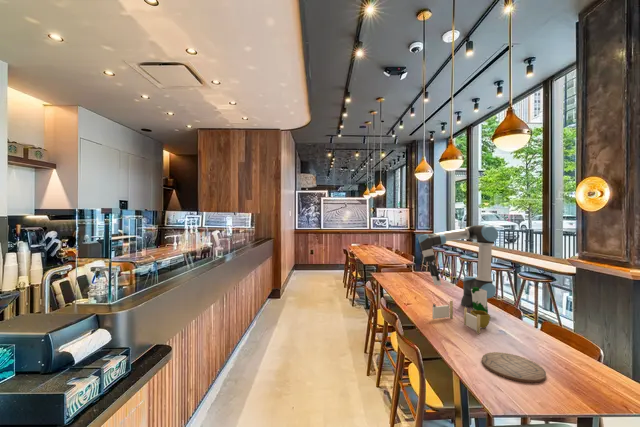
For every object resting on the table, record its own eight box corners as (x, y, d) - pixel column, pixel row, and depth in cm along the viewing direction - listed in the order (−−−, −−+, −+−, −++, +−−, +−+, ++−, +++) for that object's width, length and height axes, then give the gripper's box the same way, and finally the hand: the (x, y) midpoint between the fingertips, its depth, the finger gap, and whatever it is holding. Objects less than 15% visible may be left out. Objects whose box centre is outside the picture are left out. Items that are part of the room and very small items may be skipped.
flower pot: (484, 324, 191) (484, 310, 191) (490, 329, 182) (490, 315, 182) (470, 323, 191) (470, 310, 192) (475, 328, 183) (475, 314, 183)
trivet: (516, 388, 120) (516, 383, 120) (469, 359, 144) (469, 355, 144) (560, 379, 127) (560, 374, 127) (508, 353, 151) (508, 349, 151)
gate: (447, 316, 202) (447, 302, 202) (449, 317, 201) (449, 303, 201) (432, 318, 199) (432, 304, 199) (433, 319, 197) (433, 304, 197)
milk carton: (471, 313, 213) (469, 286, 213) (483, 312, 212) (481, 285, 213) (477, 317, 204) (475, 289, 204) (490, 316, 204) (488, 288, 204)
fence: (449, 317, 203) (449, 300, 203) (453, 317, 203) (453, 300, 203) (478, 333, 175) (478, 314, 175) (482, 333, 175) (482, 313, 176)
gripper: (421, 258, 223) (430, 285, 217) (426, 255, 199) (435, 286, 194) (431, 255, 222) (440, 283, 216) (437, 253, 198) (447, 284, 192)
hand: (438, 285), depth 205 cm, fingers open, 13 cm apart
